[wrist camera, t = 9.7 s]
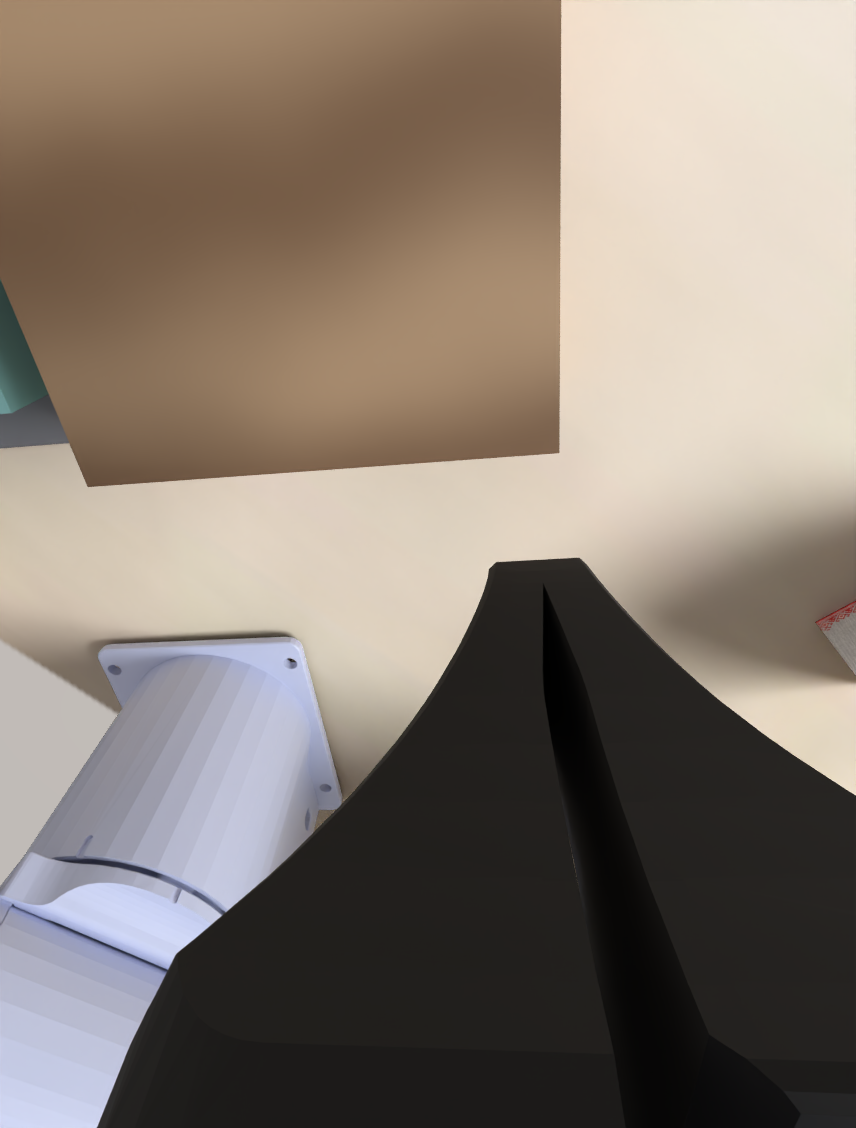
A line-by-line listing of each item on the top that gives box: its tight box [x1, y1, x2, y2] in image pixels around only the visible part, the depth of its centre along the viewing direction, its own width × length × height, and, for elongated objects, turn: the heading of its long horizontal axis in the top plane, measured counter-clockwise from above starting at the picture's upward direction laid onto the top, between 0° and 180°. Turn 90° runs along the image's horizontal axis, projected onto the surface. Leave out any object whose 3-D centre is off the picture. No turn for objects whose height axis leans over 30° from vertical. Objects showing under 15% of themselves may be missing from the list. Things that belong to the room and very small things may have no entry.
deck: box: [0, 0, 561, 487], centre depth 14 cm, size 12×12×4 cm
